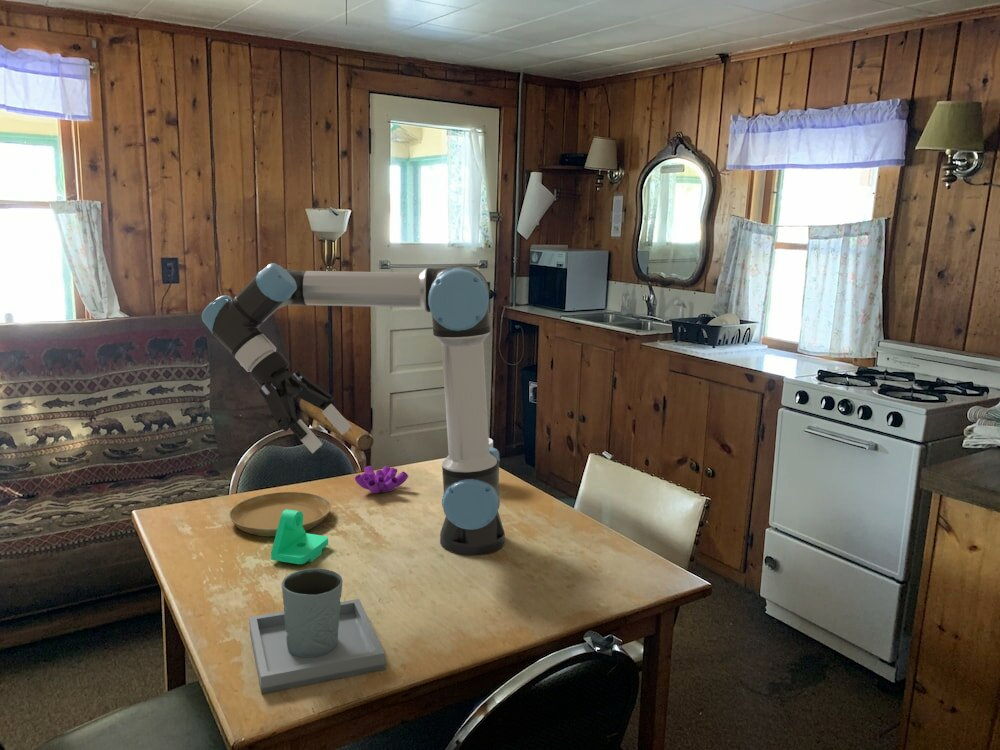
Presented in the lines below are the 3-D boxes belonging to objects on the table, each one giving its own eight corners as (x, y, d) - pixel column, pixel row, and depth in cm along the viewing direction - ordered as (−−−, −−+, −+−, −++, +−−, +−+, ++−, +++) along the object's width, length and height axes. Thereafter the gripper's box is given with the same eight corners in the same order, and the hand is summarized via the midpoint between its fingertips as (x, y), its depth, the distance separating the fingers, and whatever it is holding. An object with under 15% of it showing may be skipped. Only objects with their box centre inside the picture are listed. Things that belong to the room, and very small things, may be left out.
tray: (359, 613, 149) (359, 598, 149) (385, 669, 131) (385, 653, 131) (249, 632, 142) (249, 616, 141) (261, 694, 124) (260, 677, 123)
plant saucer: (265, 550, 177) (265, 536, 176) (210, 521, 192) (210, 508, 191) (351, 521, 195) (350, 508, 194) (294, 497, 210) (293, 485, 209)
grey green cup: (280, 635, 139) (278, 572, 136) (337, 625, 143) (336, 564, 140) (288, 665, 130) (286, 599, 127) (349, 653, 134) (348, 588, 131)
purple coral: (395, 494, 222) (414, 471, 219) (375, 513, 208) (395, 488, 205) (365, 469, 223) (384, 444, 220) (343, 486, 208) (363, 460, 206)
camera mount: (302, 569, 167) (301, 524, 165) (271, 564, 170) (269, 519, 167) (330, 547, 179) (329, 504, 177) (300, 542, 181) (299, 500, 179)
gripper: (282, 363, 172) (346, 434, 172) (217, 386, 148) (291, 469, 148) (304, 340, 170) (369, 413, 170) (240, 360, 146) (316, 444, 146)
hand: (333, 439), depth 159 cm, fingers open, 13 cm apart
